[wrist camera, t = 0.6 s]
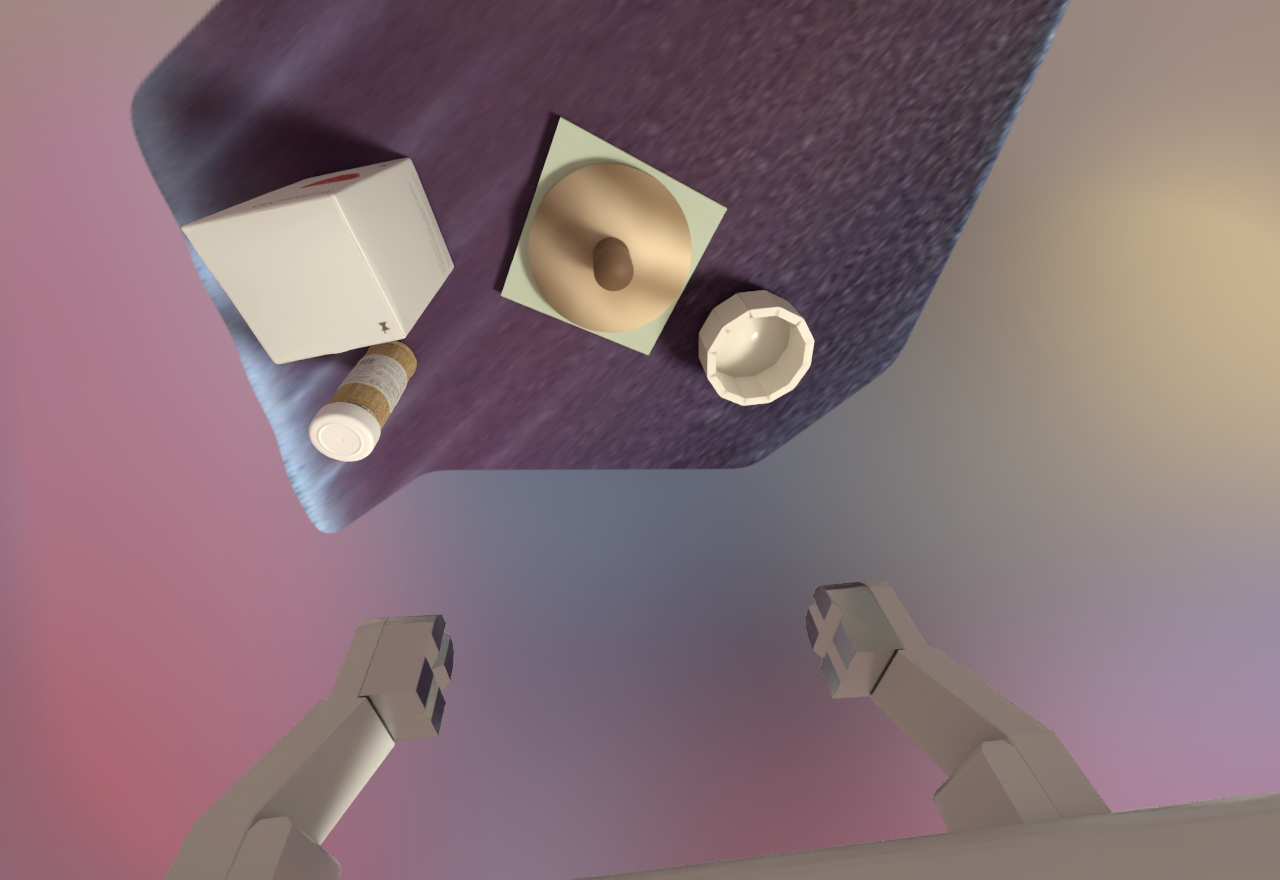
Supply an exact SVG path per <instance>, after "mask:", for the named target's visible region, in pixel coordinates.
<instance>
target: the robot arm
mask: <svg viewBox="0 0 1280 880" xmlns="http://www.w3.org/2000/svg"><path fill="white" fill-rule="evenodd" d="M813 597H814V599H815V603H814V604H813V605H811V606H810V607H809V608H808V611H807V614H806V631H807V635H808V638H809V642H810V644H811V647H812V649H813V650H814V651H815V652H816V653H817V654H818V655H820V656H821V657H822V658H823V662H822V665H821V671H822V674H823V676H824V678H825V681H826V683H827V686H828V688H829V690H830V693H831V695H832V697H833V699H834V698H849V697H864V696H871V699H872V700H873V702H874V703H875V704H876V705H877V706H879V707H880V709H882V711H883V712H885V713H886V715H888V716H889V717H890V719H891V720H892V721H893V722H895V723H896V725H898V726H899V728H900V729H901V730H903V731H904V733H906V735H908V737H910V738H911V740H912V741H913V742H915V743H916V745H918V747H919V748H921V750H922V751H923V752H925V753H926V754H927V755H928V756H929V757H930V758H931V759H932V760H933V761H934V762H935V763H936V764H937V765H938V766H939V767H940V768H941V769H942V770H943V771H944V772H945V773H946V774H947V775H948V776H949V778H948V779H947V780H946V781H945V782H944V783H943V784H942V785H941V786H940V787H939V788H938V789H937V790H936V792H935V794H934V797H933V801H934V803H935V805H936V807H937V809H938V811H939V813H940V815H941V817H942V819H943V821H944V824H945V825H946V827H947V830H948V832H949V833H941V834H934V835H925V836H917V837H910V838H901V839H893V840H885V841H877V842H869V843H862V844H854V845H845V846H837V847H829V848H821V849H813V850H805V851H797V852H789V853H781V854H773V855H765V856H757V857H749V858H741V859H732V860H724V861H716V862H709V863H700V864H692V865H685V866H676V867H669V868H660V869H653V870H645V871H636V872H628V873H620V874H613V875H604V876H597V877H588V878H580V879H572V880H1280V792H1270V793H1262V794H1254V795H1246V796H1238V797H1230V798H1222V799H1214V800H1206V801H1198V802H1191V803H1183V804H1174V805H1167V806H1158V807H1150V808H1142V809H1134V810H1126V811H1118V812H1111V811H1110V809H1109V808H1108V807H1107V805H1106V804H1105V802H1104V801H1103V800H1102V798H1101V797H1100V795H1099V794H1098V793H1097V791H1096V790H1095V789H1094V787H1093V786H1092V784H1091V783H1090V782H1089V780H1088V779H1087V777H1086V776H1085V775H1084V773H1083V772H1082V771H1081V769H1080V768H1079V767H1078V765H1077V764H1076V762H1075V761H1074V760H1073V758H1072V757H1071V755H1070V754H1069V753H1068V751H1067V750H1066V749H1065V747H1064V746H1063V744H1062V743H1061V742H1060V740H1059V739H1058V737H1057V736H1056V735H1055V733H1054V732H1052V731H1051V730H1050V729H1048V728H1047V727H1045V726H1044V725H1043V724H1041V723H1040V722H1039V721H1037V720H1036V719H1034V718H1033V717H1032V716H1030V715H1029V714H1027V713H1026V712H1025V711H1023V710H1022V709H1020V708H1019V707H1018V706H1016V705H1015V704H1014V703H1012V702H1011V701H1009V700H1008V699H1007V698H1005V697H1004V696H1002V695H1001V694H1000V693H998V692H997V691H995V690H994V689H993V688H991V687H990V686H988V685H987V684H986V683H984V682H982V680H980V679H979V678H977V677H976V676H975V675H973V674H972V673H970V672H969V671H968V670H966V669H965V668H963V667H962V666H961V665H959V664H958V663H957V662H955V661H954V660H952V659H951V658H949V657H948V656H947V655H945V654H944V653H943V652H941V651H940V650H938V649H937V648H936V647H928V645H927V644H926V642H925V641H924V639H923V637H922V636H921V634H920V633H919V631H918V629H917V628H916V626H915V625H914V623H913V622H912V620H911V618H910V617H909V615H908V614H907V612H906V610H905V609H904V607H903V605H902V604H901V602H900V601H899V599H898V597H897V596H896V594H895V593H894V591H893V589H892V588H891V586H890V585H889V584H888V583H887V582H885V581H873V582H863V583H861V582H854V583H843V584H833V585H822V586H818V587H817V588H816V589H815V591H814V594H813ZM445 625H446V623H445V620H444V618H443V616H442V614H439V615H424V616H423V615H422V616H407V617H386V618H373V619H364V620H363V621H362V623H361V624H360V625H359V626H358V628H357V630H356V632H355V635H354V637H353V640H352V642H351V645H350V647H349V650H348V652H347V655H346V657H345V659H344V662H343V664H342V667H341V669H340V672H339V675H338V677H337V679H336V682H335V684H334V687H333V689H332V692H331V694H330V697H329V699H328V700H325V701H320V702H319V703H318V704H317V705H316V706H314V707H313V708H312V709H311V710H310V711H309V712H308V713H307V714H306V715H305V716H304V717H303V718H302V719H301V720H300V721H299V722H298V723H297V724H296V725H295V726H294V727H293V728H292V729H291V730H290V731H289V732H287V733H286V734H285V736H283V738H281V739H280V740H279V741H278V742H277V743H276V744H275V745H274V746H273V747H272V748H271V749H270V750H269V751H268V752H267V753H266V754H265V755H264V756H263V757H262V758H261V759H260V760H259V761H258V762H257V763H256V764H254V765H253V766H252V767H251V768H250V769H249V770H248V771H247V772H246V773H245V774H244V775H243V776H242V777H241V778H240V779H239V780H238V781H237V782H236V783H235V784H234V785H233V786H232V787H231V788H229V790H227V791H226V792H225V793H224V794H223V795H222V796H221V797H220V798H219V799H218V800H217V801H216V802H215V803H214V804H213V805H212V806H211V807H210V808H209V809H208V810H207V811H206V812H205V813H204V814H203V815H201V816H200V817H199V818H198V819H197V820H196V821H195V822H194V823H193V825H192V827H191V829H190V831H189V833H188V835H187V836H186V839H185V840H184V842H183V844H182V846H181V848H180V850H179V852H178V854H177V856H176V857H175V860H174V861H173V863H172V865H171V867H170V869H169V871H168V873H167V875H166V877H165V879H164V880H339V878H340V874H341V871H342V868H341V866H340V864H339V862H338V860H336V859H335V858H334V857H333V856H332V855H331V854H330V853H328V852H327V851H326V850H325V849H324V848H323V847H321V846H320V845H321V843H322V842H323V841H324V839H325V838H326V837H327V835H328V834H329V833H330V831H331V830H332V828H333V827H334V826H335V824H336V823H337V822H338V820H339V819H340V818H341V816H342V815H343V814H344V812H345V811H346V810H347V808H348V807H349V806H350V804H351V803H352V802H353V800H354V799H355V798H356V796H357V795H358V794H359V792H360V791H361V790H362V788H363V787H364V786H365V784H366V783H367V781H368V780H369V779H370V778H371V776H372V774H373V773H374V772H375V771H376V769H377V768H378V767H379V765H380V764H381V763H382V761H383V760H384V759H385V757H386V756H387V755H388V753H389V752H390V750H391V749H392V748H393V747H394V745H395V743H394V742H397V741H405V740H413V739H421V738H429V737H438V736H439V731H440V727H441V722H442V718H443V713H444V708H445V704H446V702H445V700H444V697H443V695H442V692H441V691H442V690H443V689H444V687H445V686H446V685H447V684H448V683H449V682H450V680H451V675H452V670H453V660H454V649H453V642H452V639H451V636H450V635H448V634H446V633H445V632H444V629H445Z"/></svg>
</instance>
